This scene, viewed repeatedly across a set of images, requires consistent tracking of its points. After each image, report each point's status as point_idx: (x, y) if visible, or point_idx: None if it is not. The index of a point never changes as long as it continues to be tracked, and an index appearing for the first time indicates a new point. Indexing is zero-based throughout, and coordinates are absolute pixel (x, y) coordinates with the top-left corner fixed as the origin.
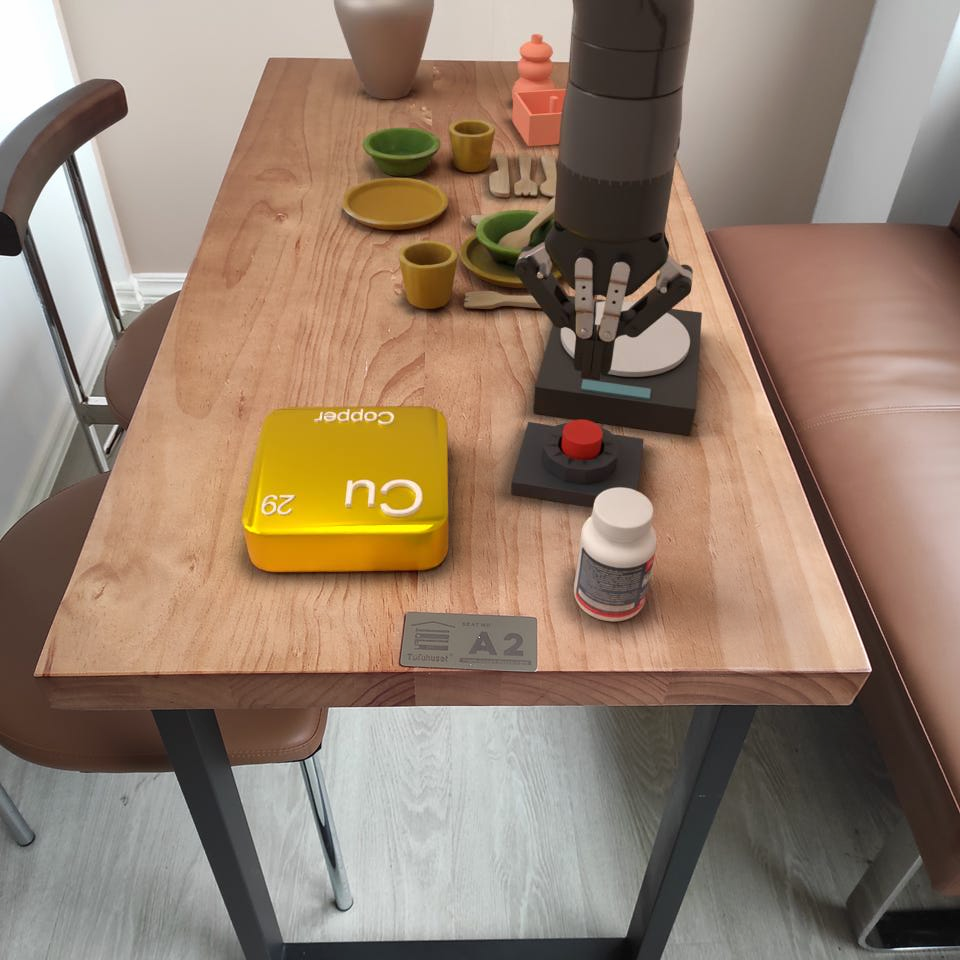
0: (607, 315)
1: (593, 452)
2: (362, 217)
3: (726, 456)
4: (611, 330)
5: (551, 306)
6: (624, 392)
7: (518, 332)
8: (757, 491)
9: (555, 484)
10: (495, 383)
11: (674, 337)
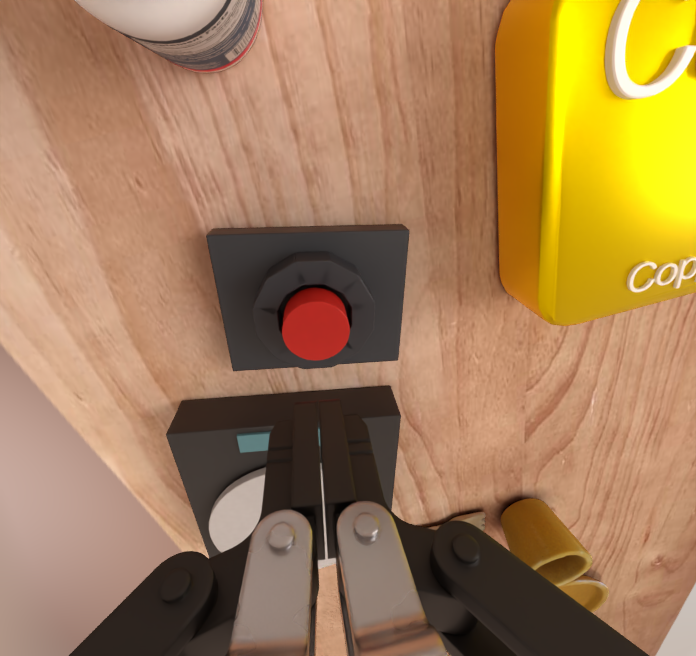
0: (286, 641)
1: (291, 302)
2: (590, 583)
3: (120, 378)
4: (265, 562)
5: (534, 616)
6: None
7: (421, 496)
8: (48, 325)
9: (340, 241)
10: (441, 419)
11: (233, 538)
